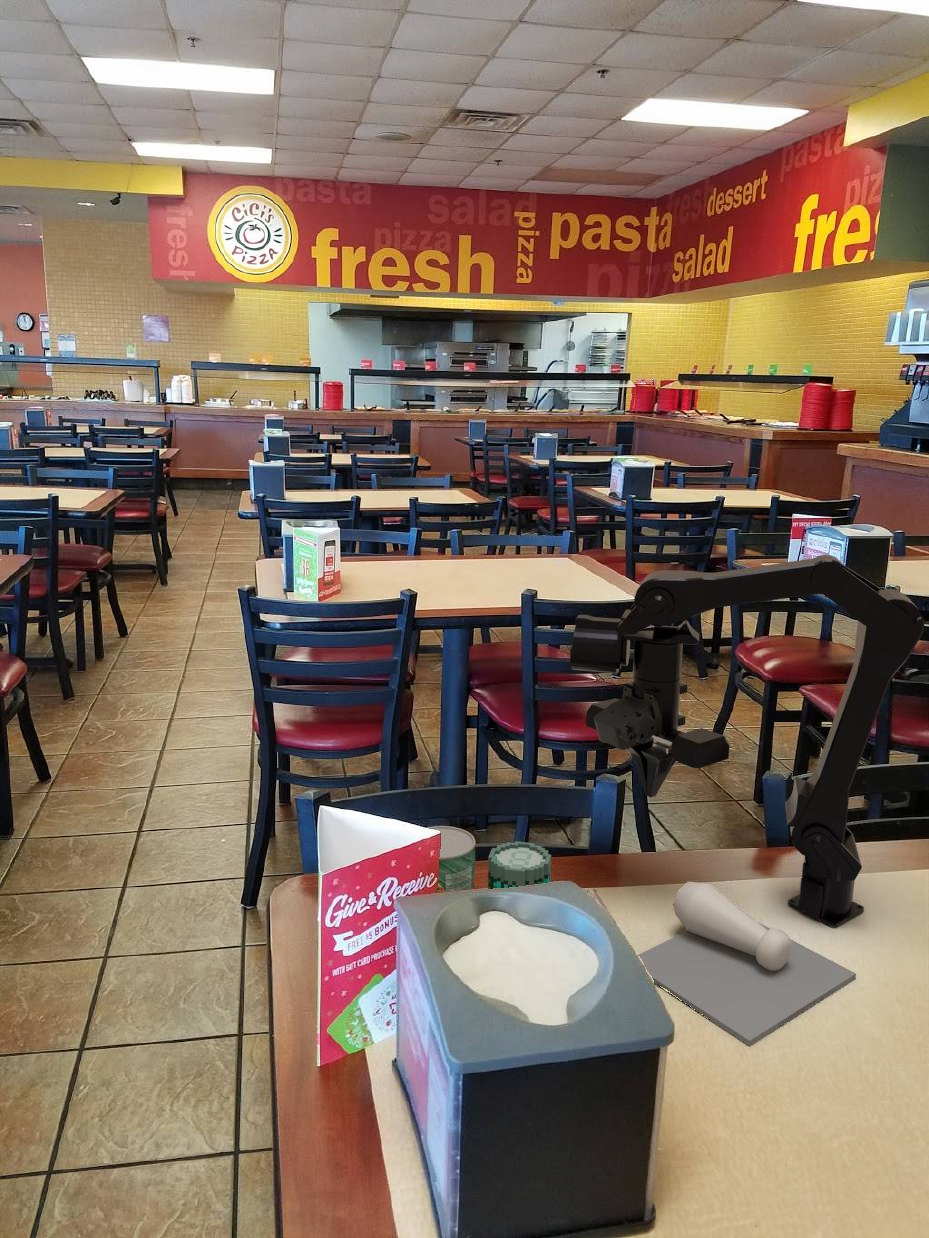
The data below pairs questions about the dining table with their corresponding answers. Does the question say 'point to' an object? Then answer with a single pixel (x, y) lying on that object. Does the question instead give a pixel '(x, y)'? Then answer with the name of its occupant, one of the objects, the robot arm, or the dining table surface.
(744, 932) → the salt shaker
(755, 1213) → the dining table surface
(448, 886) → the canned tomato
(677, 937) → the mat
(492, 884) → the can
